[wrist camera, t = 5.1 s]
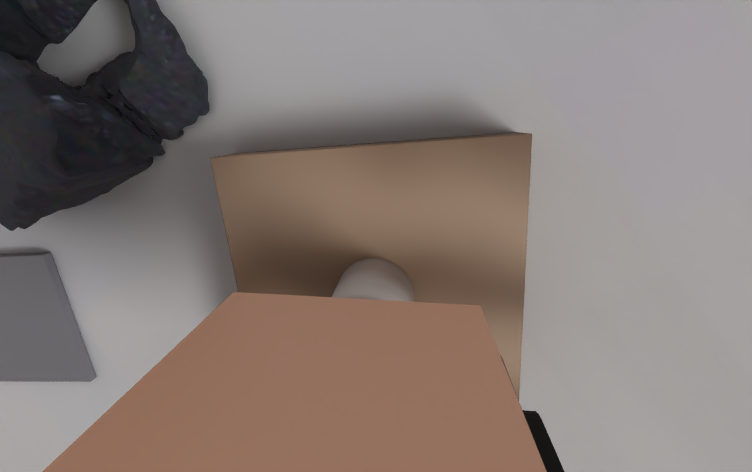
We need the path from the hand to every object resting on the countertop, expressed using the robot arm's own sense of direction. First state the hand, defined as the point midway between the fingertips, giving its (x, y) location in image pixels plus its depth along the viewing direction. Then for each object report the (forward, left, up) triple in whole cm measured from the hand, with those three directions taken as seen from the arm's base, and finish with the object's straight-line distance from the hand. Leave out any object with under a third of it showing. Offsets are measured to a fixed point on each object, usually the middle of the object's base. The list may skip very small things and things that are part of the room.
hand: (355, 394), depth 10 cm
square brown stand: (0, 0, -8) cm, 8 cm away
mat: (-2, +20, -8) cm, 22 cm away
